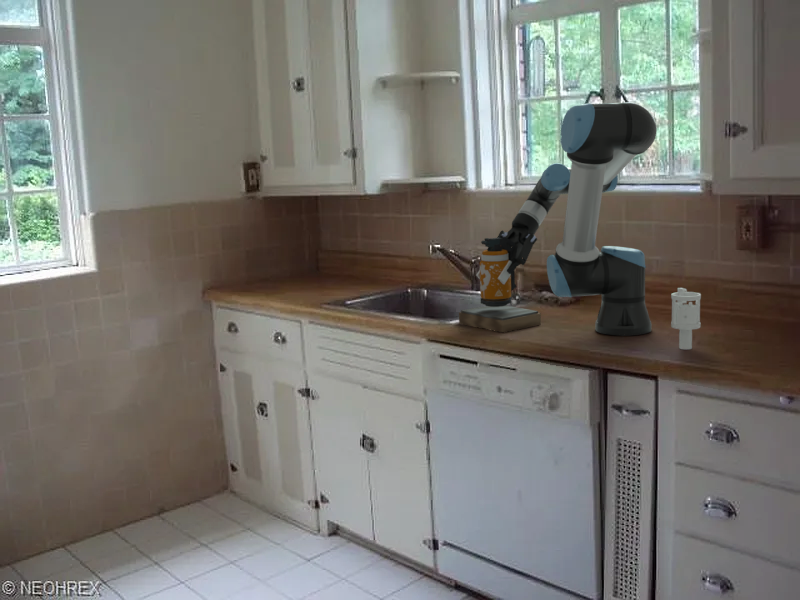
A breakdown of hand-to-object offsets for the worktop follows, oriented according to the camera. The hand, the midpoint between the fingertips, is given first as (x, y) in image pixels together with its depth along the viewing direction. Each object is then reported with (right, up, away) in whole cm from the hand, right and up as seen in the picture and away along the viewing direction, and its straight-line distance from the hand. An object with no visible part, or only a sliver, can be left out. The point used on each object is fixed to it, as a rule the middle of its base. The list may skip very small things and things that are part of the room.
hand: (490, 279), depth 269 cm
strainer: (+46, -18, -35) cm, 60 cm away
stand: (+3, -13, +4) cm, 14 cm away
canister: (+3, -7, +3) cm, 9 cm away
